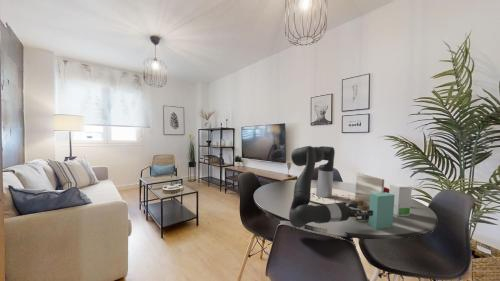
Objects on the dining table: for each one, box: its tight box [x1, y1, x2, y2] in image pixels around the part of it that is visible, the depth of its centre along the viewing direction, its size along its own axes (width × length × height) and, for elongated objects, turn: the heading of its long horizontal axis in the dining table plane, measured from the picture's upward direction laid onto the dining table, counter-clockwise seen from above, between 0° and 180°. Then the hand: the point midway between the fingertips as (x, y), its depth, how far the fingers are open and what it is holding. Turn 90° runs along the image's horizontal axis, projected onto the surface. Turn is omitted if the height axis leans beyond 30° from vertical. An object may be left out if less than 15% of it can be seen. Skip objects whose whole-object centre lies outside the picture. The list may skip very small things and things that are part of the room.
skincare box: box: [388, 183, 413, 217], centre depth 111 cm, size 8×7×16 cm
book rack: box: [345, 172, 385, 223], centre depth 109 cm, size 15×16×20 cm
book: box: [368, 192, 395, 230], centre depth 95 cm, size 10×4×15 cm, turn 107°
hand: (364, 209), depth 92 cm, fingers open, 8 cm apart
